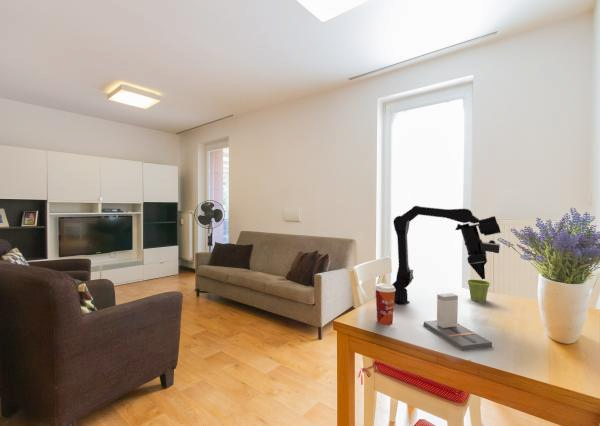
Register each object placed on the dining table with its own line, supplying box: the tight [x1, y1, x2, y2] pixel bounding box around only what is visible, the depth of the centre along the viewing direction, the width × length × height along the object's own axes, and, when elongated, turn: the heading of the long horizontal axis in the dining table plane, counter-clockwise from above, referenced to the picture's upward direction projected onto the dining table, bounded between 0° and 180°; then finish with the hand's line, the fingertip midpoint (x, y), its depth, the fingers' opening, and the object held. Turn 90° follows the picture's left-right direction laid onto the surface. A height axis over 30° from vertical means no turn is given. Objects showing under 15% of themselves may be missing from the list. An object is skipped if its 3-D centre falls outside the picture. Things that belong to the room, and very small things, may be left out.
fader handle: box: [436, 292, 459, 328], centre depth 105 cm, size 3×6×11 cm, turn 103°
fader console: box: [423, 319, 493, 352], centre depth 101 cm, size 19×11×2 cm, turn 13°
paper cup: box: [374, 283, 396, 326], centre depth 113 cm, size 8×8×14 cm
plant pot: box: [466, 278, 491, 303], centre depth 138 cm, size 9×9×9 cm
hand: (483, 276), depth 118 cm, fingers open, 9 cm apart
